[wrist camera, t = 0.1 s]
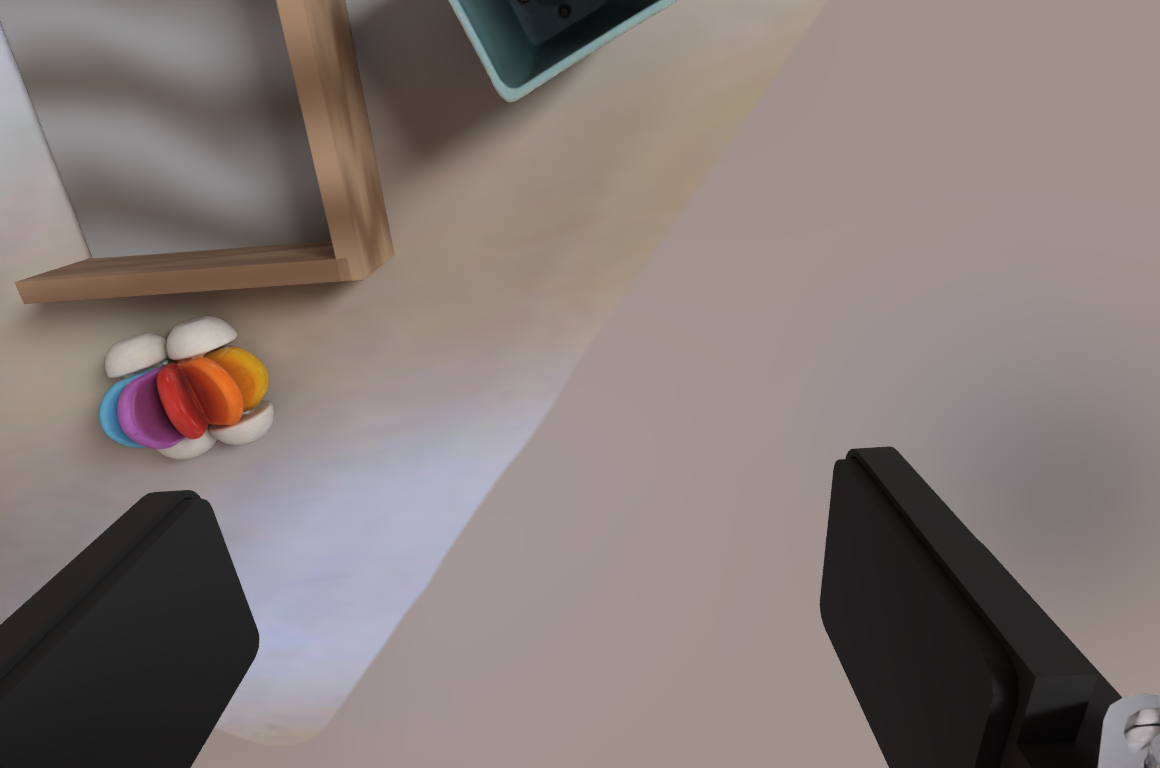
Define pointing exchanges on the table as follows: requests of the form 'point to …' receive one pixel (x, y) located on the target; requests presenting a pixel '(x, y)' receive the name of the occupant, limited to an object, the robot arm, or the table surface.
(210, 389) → the rainbow petal toy
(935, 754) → the robot arm
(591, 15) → the flower pot
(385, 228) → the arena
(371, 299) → the table surface
